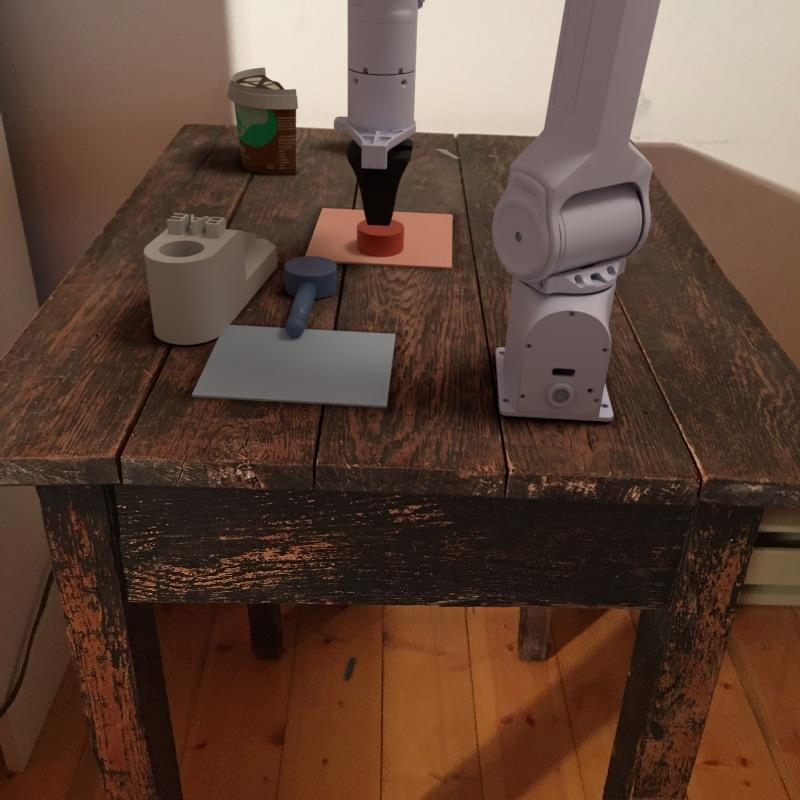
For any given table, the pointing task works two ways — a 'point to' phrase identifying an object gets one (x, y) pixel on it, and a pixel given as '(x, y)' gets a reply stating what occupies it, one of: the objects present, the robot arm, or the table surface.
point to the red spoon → (380, 239)
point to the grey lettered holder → (203, 277)
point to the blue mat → (299, 367)
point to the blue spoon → (307, 288)
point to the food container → (264, 122)
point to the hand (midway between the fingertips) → (378, 222)
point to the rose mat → (421, 249)
